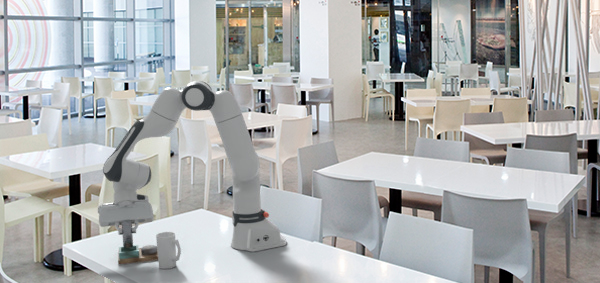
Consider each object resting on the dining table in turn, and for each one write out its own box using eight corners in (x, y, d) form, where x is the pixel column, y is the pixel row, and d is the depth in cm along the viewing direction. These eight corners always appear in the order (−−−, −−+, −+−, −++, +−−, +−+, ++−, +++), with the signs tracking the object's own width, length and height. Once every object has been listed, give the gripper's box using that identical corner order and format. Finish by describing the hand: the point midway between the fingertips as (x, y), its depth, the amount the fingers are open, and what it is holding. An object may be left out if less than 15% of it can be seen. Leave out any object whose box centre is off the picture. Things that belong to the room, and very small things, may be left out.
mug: (154, 267, 208) (152, 235, 206) (167, 261, 214) (165, 230, 212) (175, 272, 203) (173, 239, 202) (187, 265, 209) (185, 234, 207)
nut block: (157, 249, 228) (157, 239, 227) (159, 259, 216) (159, 249, 216) (118, 254, 223) (118, 244, 223) (118, 264, 212) (117, 254, 211)
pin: (133, 244, 219) (131, 219, 218) (133, 247, 216) (131, 221, 214) (123, 245, 218) (121, 220, 217) (123, 248, 215) (121, 222, 213)
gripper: (97, 200, 218) (97, 232, 210) (151, 195, 224) (154, 226, 216) (98, 208, 223) (99, 240, 215) (152, 203, 229) (154, 234, 221)
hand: (127, 233), depth 216 cm, fingers closed on pin, 4 cm apart
